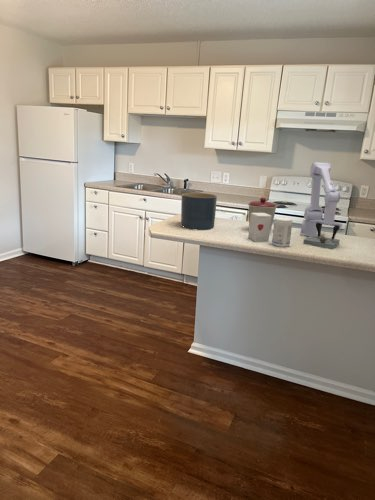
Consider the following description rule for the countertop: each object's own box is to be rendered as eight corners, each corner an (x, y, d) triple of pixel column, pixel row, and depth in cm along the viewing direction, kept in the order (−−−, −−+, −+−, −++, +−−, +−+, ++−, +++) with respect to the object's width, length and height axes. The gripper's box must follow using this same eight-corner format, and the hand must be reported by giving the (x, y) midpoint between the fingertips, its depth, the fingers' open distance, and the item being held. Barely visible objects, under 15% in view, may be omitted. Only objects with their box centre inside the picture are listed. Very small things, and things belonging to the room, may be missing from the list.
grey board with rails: (303, 243, 208) (303, 238, 207) (310, 238, 220) (311, 233, 219) (332, 249, 199) (333, 243, 198) (339, 243, 211) (339, 238, 210)
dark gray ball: (318, 242, 202) (319, 236, 201) (320, 241, 205) (321, 235, 204) (324, 243, 200) (325, 237, 199) (326, 242, 203) (327, 236, 202)
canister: (272, 228, 243) (276, 196, 237) (276, 234, 226) (280, 200, 220) (244, 226, 245) (247, 194, 239) (246, 232, 227) (249, 198, 222)
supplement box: (254, 241, 207) (257, 215, 203) (247, 237, 215) (250, 212, 211) (269, 241, 209) (272, 215, 205) (262, 237, 217) (264, 212, 213)
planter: (175, 223, 243) (176, 192, 238) (204, 222, 253) (206, 192, 247) (189, 231, 224) (190, 198, 219) (220, 229, 233) (223, 197, 228)
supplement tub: (284, 242, 209) (287, 216, 205) (292, 247, 200) (296, 220, 196) (268, 242, 206) (271, 216, 202) (276, 247, 197) (279, 220, 193)
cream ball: (317, 237, 214) (318, 231, 214) (319, 236, 217) (320, 230, 216) (323, 237, 213) (324, 232, 212) (324, 237, 215) (325, 231, 214)
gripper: (314, 212, 204) (310, 236, 208) (341, 216, 196) (337, 241, 200) (317, 211, 210) (314, 234, 214) (344, 215, 202) (340, 239, 206)
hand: (325, 237), depth 207 cm, fingers open, 7 cm apart
